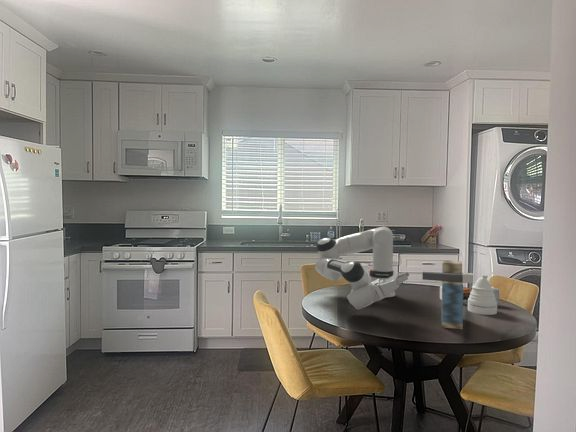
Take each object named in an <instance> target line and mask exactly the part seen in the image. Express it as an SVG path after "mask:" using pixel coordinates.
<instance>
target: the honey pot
mask: <svg viewBox="0 0 576 432" xmlns="http://www.w3.org/2000/svg"><path fill="white" fill-rule="evenodd" d="M488 277H489V275H488V274H481V277H478V279H477V280H476V281H475V283H473V285H471V288H472V289H471V290H472V291H471V292H470V294H469V296H468V297H467V311H468V312H470V313H473V314H477V315H485V316H489V315H490V316H491V315H497V313H498V306H497V301H496V298H495V295H494V293H493V290H495V288H496V287H494V286H491V284H490V282H489V281H488Z"/></svg>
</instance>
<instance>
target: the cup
mask: <svg viewBox="0 0 576 432" xmlns="http://www.w3.org/2000/svg"><path fill="white" fill-rule="evenodd" d="M359 263H360V264H361V266H362V267H363V269H364V270H365V272H366V273H367V274H368V275H369V271H370V266H369V264H368V263H361V262H359ZM369 276H370V275H369Z"/></svg>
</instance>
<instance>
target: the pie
mask: <svg viewBox="0 0 576 432" xmlns="http://www.w3.org/2000/svg"><path fill="white" fill-rule="evenodd" d="M471 291H472V289H470V288H469V287H466V286H463V299H464V297H465V298H469V295H470V292H471Z"/></svg>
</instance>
